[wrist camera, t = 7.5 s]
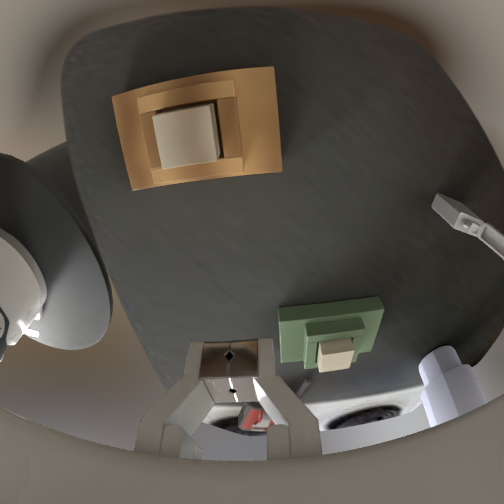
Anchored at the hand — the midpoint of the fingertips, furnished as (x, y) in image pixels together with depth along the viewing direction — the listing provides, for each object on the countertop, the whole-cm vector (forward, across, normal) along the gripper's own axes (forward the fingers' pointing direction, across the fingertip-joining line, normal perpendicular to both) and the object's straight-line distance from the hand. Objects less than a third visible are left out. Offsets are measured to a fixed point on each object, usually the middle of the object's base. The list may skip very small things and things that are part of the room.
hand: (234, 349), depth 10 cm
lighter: (+16, -22, +4) cm, 28 cm away
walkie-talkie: (+16, 0, +37) cm, 41 cm away
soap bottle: (+17, -30, +33) cm, 47 cm away
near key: (+13, +3, -6) cm, 14 cm away
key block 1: (+16, +3, -6) cm, 17 cm away
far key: (+13, -8, +18) cm, 24 cm away
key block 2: (+16, -8, +18) cm, 26 cm away
